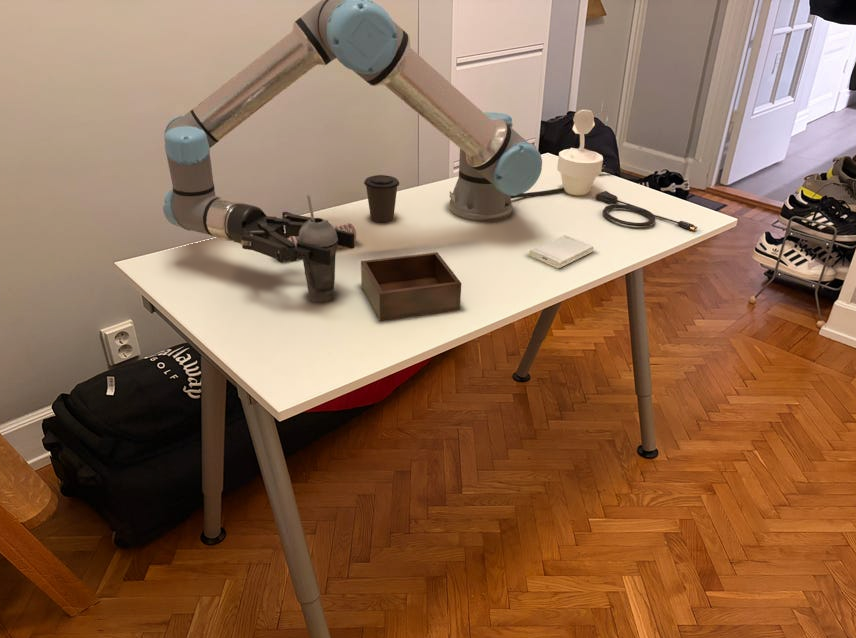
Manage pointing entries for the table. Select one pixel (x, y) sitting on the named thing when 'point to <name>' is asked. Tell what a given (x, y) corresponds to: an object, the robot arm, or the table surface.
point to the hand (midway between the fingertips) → (341, 249)
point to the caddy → (410, 285)
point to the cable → (612, 199)
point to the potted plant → (580, 159)
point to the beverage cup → (317, 273)
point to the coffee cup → (381, 197)
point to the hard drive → (561, 251)
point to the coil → (341, 227)
